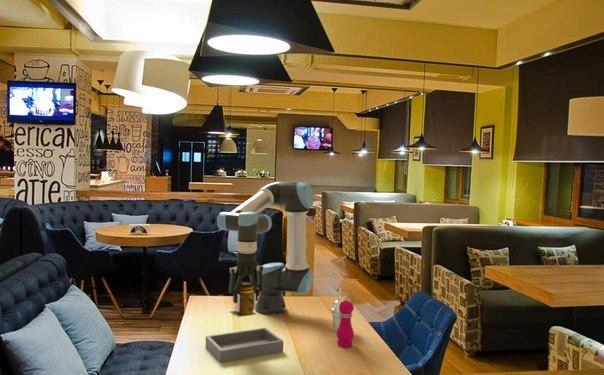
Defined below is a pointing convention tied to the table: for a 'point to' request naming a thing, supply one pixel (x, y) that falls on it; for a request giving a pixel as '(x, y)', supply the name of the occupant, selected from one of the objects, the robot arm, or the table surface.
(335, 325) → the cup with straw
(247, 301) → the condiment
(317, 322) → the table surface
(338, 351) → the table surface
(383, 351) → the table surface
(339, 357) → the table surface
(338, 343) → the pepper mill
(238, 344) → the tray
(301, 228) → the robot arm
